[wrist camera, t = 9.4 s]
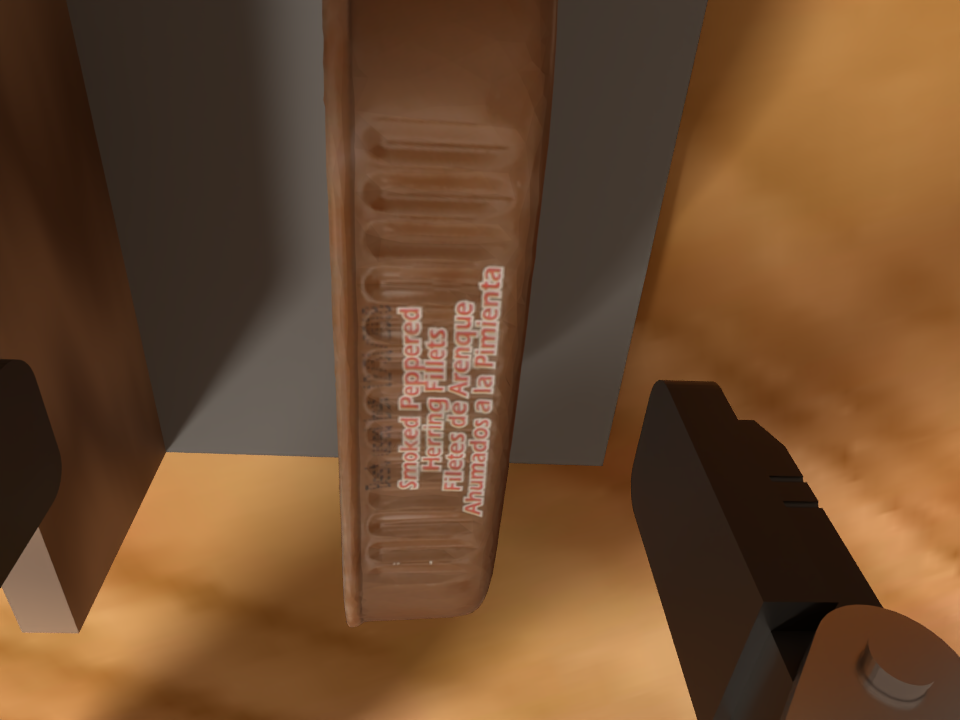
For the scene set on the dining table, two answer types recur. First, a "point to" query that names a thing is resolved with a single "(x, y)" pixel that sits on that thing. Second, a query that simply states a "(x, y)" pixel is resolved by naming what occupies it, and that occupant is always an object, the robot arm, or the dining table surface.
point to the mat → (305, 221)
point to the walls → (68, 319)
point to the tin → (430, 282)
